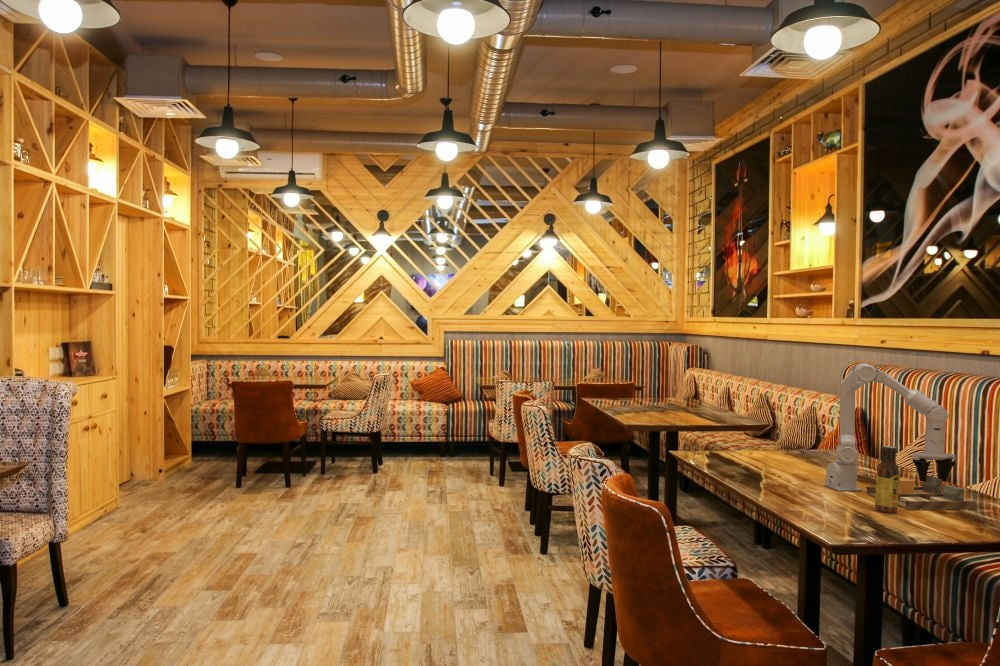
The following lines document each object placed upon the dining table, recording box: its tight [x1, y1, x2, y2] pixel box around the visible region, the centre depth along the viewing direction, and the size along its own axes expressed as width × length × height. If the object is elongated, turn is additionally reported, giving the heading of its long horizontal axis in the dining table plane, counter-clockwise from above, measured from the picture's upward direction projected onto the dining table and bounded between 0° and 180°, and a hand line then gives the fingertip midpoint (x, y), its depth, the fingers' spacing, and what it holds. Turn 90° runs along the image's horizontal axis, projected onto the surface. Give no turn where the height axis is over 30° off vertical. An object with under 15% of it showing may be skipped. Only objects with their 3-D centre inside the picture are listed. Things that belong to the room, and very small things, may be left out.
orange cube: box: [899, 477, 915, 494], centre depth 237 cm, size 4×4×4 cm
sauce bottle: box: [874, 445, 901, 514], centre depth 220 cm, size 7×6×20 cm
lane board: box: [866, 484, 976, 511], centre depth 233 cm, size 24×19×6 cm
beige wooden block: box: [914, 475, 943, 494], centre depth 238 cm, size 16×7×6 cm, turn 100°
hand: (932, 481), depth 239 cm, fingers open, 7 cm apart
